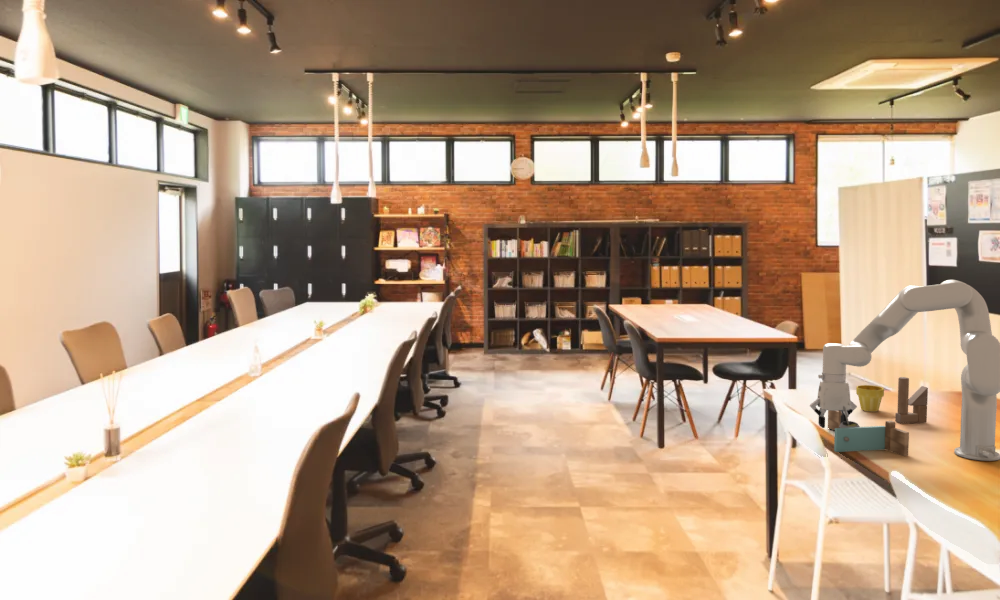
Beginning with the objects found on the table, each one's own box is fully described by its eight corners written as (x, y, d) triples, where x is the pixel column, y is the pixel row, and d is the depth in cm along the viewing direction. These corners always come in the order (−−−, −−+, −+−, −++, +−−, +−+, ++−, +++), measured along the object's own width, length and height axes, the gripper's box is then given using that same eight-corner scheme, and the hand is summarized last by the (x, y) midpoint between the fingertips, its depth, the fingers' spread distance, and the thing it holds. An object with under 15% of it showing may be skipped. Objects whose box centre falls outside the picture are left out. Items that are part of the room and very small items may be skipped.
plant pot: (859, 412, 288) (860, 389, 287) (853, 406, 298) (853, 384, 297) (886, 413, 286) (887, 390, 285) (879, 407, 296) (879, 385, 295)
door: (882, 448, 239) (883, 425, 238) (886, 450, 236) (887, 427, 236) (834, 450, 237) (834, 428, 236) (838, 452, 235) (838, 429, 234)
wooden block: (927, 423, 270) (928, 378, 268) (900, 423, 269) (901, 378, 268) (920, 420, 274) (922, 376, 272) (894, 421, 273) (896, 377, 272)
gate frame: (909, 455, 230) (910, 426, 229) (903, 456, 230) (904, 426, 229) (832, 428, 265) (832, 403, 264) (826, 429, 264) (827, 403, 263)
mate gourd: (858, 450, 237) (859, 410, 234) (833, 446, 242) (834, 406, 238) (862, 442, 243) (863, 402, 240) (838, 438, 247) (839, 399, 244)
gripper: (812, 380, 242) (811, 429, 243) (863, 380, 240) (862, 430, 242) (805, 375, 249) (803, 424, 250) (854, 376, 247) (853, 424, 249)
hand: (832, 426), depth 246 cm, fingers open, 6 cm apart
